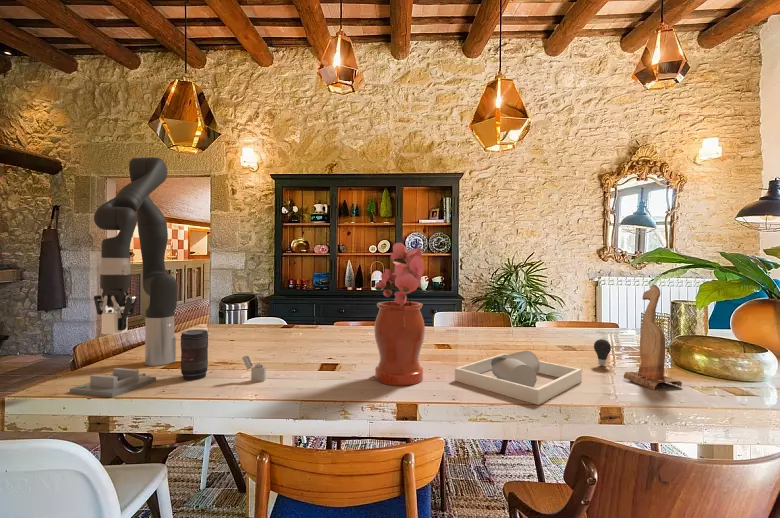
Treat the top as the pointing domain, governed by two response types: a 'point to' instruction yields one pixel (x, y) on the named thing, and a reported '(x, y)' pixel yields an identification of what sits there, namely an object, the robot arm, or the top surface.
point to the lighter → (255, 370)
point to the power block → (113, 383)
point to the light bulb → (602, 350)
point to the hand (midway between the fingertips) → (115, 329)
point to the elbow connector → (517, 368)
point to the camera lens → (194, 354)
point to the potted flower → (400, 321)
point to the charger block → (111, 323)
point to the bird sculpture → (651, 347)
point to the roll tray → (529, 394)
